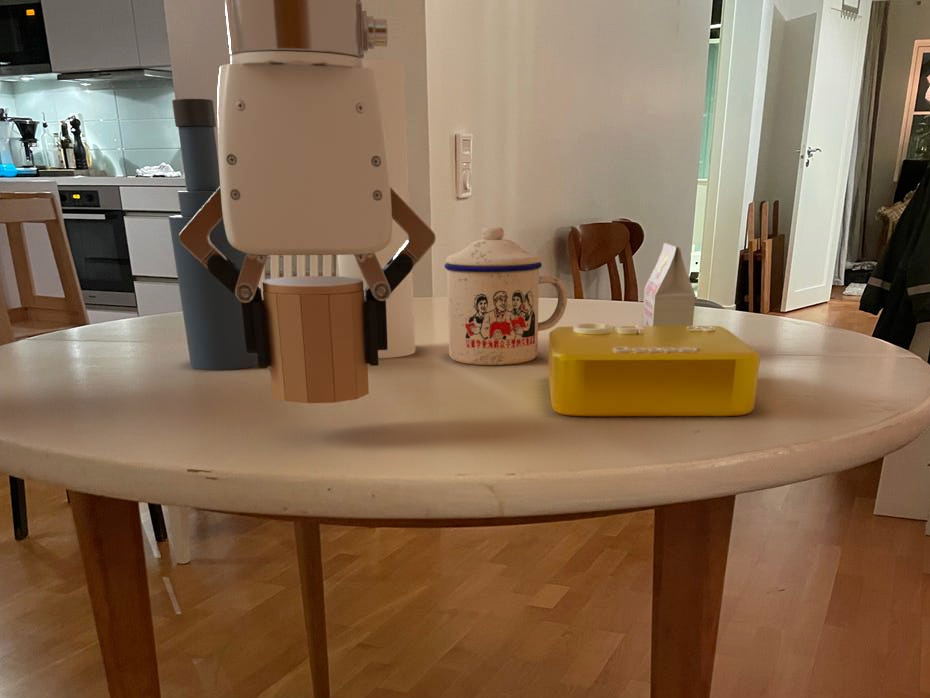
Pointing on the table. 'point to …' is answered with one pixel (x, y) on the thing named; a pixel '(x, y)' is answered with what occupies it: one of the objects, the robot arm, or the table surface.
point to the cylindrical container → (402, 296)
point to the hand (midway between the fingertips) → (318, 360)
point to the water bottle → (202, 295)
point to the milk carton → (668, 292)
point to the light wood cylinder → (316, 338)
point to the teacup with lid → (496, 302)
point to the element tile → (651, 371)
